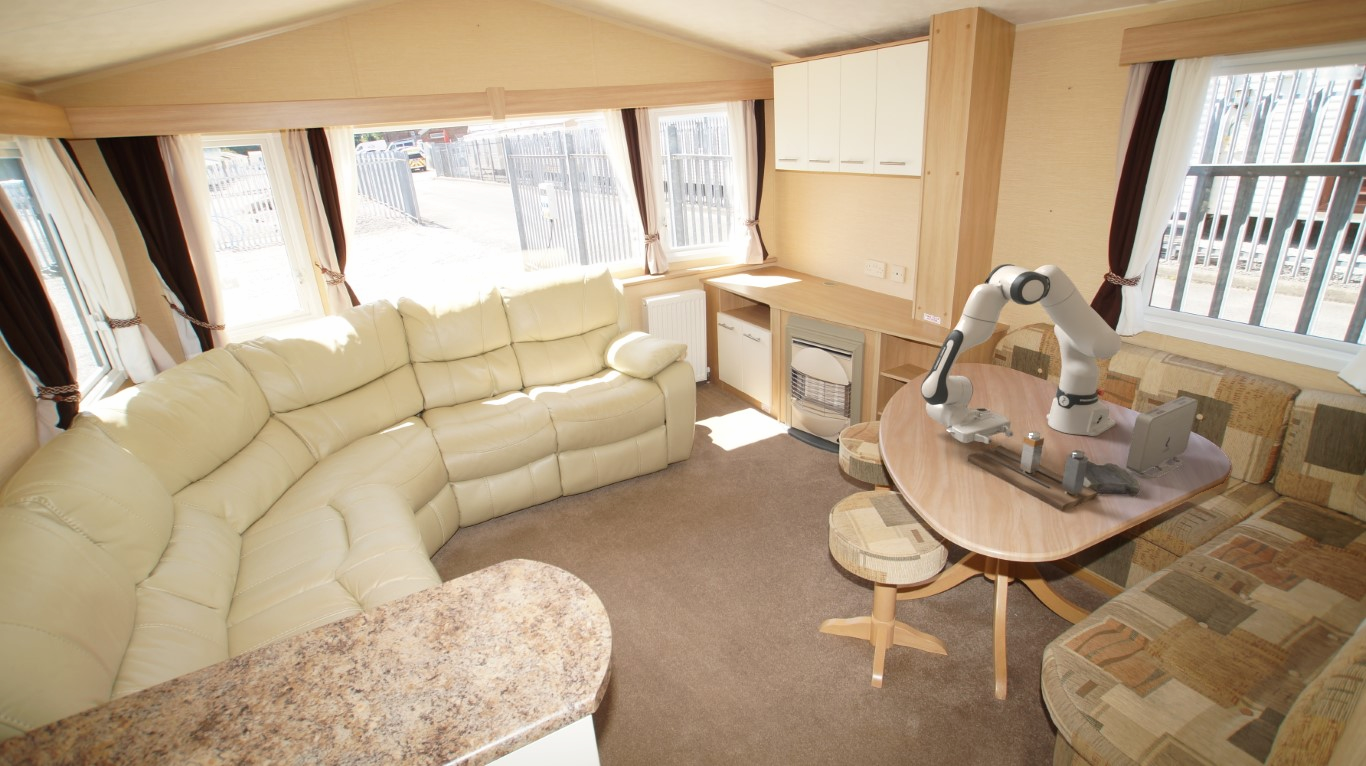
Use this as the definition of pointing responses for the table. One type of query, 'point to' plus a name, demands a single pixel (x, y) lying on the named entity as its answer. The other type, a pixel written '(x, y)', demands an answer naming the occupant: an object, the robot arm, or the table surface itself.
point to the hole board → (1030, 478)
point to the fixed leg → (1074, 472)
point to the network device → (1161, 436)
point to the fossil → (1110, 479)
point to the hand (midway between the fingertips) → (1000, 437)
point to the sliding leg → (1031, 452)
